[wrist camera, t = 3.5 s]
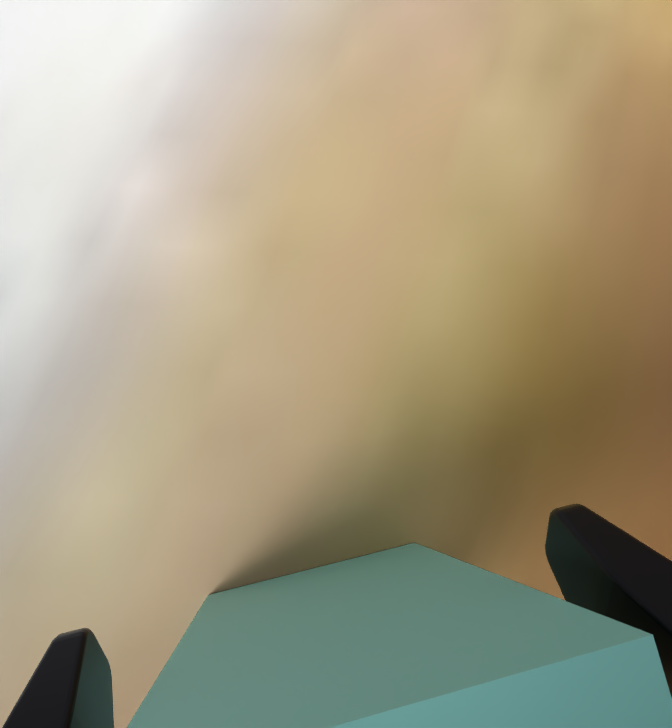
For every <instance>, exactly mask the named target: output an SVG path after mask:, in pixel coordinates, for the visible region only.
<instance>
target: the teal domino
mask: <svg viewBox="0 0 672 728" xmlns="http://www.w3.org/2000/svg"><path fill="white" fill-rule="evenodd" d="M127 728H672V697H671V694H670V691H669V687H668V684H667V681H666V677H665V674H664V670H663V667H662V664H661V660H660V657H659V654H658V650H657V647H656V643H655V640H654V637H653V634H650V633H647V632H645V631H642V630H640V629H637V628H634V627H632V626H629V625H627V624H624V623H621V622H619V621H616V620H614V619H611V618H608V617H606V616H603V615H601V614H598V613H596V612H593V611H590V610H588V609H585V608H583V607H580V606H577V605H575V604H572V603H570V602H567V601H564V600H562V599H559V598H557V597H554V596H551V595H549V594H546V593H544V592H541V591H539V590H536V589H533V588H531V587H528V586H526V585H523V584H520V583H518V582H515V581H513V580H510V579H507V578H505V577H502V576H500V575H497V574H494V573H492V572H489V571H487V570H484V569H481V568H479V567H476V566H474V565H471V564H469V563H466V562H463V561H461V560H458V559H456V558H453V557H450V556H448V555H445V554H443V553H440V552H437V551H435V550H432V549H430V548H427V547H424V546H422V545H419V544H417V543H412V544H408V545H404V546H400V547H396V548H392V549H388V550H384V551H380V552H376V553H372V554H368V555H364V556H360V557H356V558H352V559H349V560H345V561H341V562H337V563H333V564H329V565H325V566H321V567H317V568H313V569H309V570H305V571H301V572H297V573H293V574H289V575H285V576H281V577H277V578H273V579H269V580H265V581H261V582H258V583H254V584H250V585H246V586H242V587H238V588H234V589H230V590H226V591H222V592H218V593H214V594H210V595H208V596H207V598H206V600H205V601H204V603H203V605H202V606H201V608H200V609H199V611H198V613H197V614H196V616H195V618H194V619H193V621H192V622H191V624H190V626H189V627H188V629H187V631H186V632H185V634H184V635H183V637H182V639H181V640H180V642H179V644H178V645H177V647H176V648H175V650H174V652H173V653H172V655H171V657H170V658H169V660H168V661H167V663H166V665H165V666H164V668H163V670H162V671H161V673H160V674H159V676H158V678H157V679H156V681H155V683H154V684H153V686H152V687H151V689H150V691H149V692H148V694H147V696H146V697H145V699H144V700H143V702H142V704H141V705H140V707H139V709H138V710H137V712H136V713H135V715H134V717H133V718H132V720H131V722H130V723H129V725H128V726H127Z"/></svg>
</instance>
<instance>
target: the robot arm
mask: <svg viewBox="0 0 672 728" xmlns="http://www.w3.org/2000/svg"><path fill="white" fill-rule="evenodd" d="M545 550H546V556H547V559H548V562H549V564H550V567H551V569H552V571H553V573H554V576H555V578H556V580H557V582H558V585H559V587H560V589H561V591H562V594H563V596H564V598H565V600H566V601H567V602H570V603H572V604H575V605H577V606H580V607H583V608H585V609H588V610H590V611H593V612H596V613H598V614H601V615H603V616H606V617H608V618H611V619H614V620H616V621H619V622H621V623H624V624H627V625H629V626H632V627H634V628H637V629H640V630H642V631H645V632H647V633H650V634H653V637H654V640H655V643H656V647H657V650H658V654H659V657H660V660H661V664H662V667H663V670H664V674H665V677H666V681H667V684H668V687H669V691H670V694H671V697H672V561H670V560H669V559H667V558H666V557H664V556H663V555H661V554H659V553H658V552H656V551H655V550H653V549H652V548H650V547H648V546H647V545H645V544H644V543H642V542H640V541H639V540H637V539H636V538H634V537H633V536H631V535H629V534H628V533H626V532H625V531H623V530H621V529H620V528H618V527H617V526H615V525H614V524H612V523H610V522H609V521H607V520H606V519H604V518H603V517H601V516H599V515H598V514H596V513H595V512H593V511H591V510H590V509H588V508H587V507H585V506H583V505H580V504H572V505H568V506H564V507H560V508H556V509H554V510H553V511H552V512H551V513H550V517H549V523H548V530H547V537H546V544H545ZM2 728H114V719H113V696H112V676H111V669H110V665H109V662H108V660H107V658H106V656H105V654H104V652H103V650H102V649H101V647H100V645H99V643H98V641H97V639H96V637H95V636H94V634H93V632H92V631H91V630H90V629H88V628H82V629H78V630H74V631H70V632H66V633H62V634H60V635H58V636H57V637H56V638H54V640H53V641H52V642H51V644H50V646H49V647H48V649H47V651H46V653H45V654H44V656H43V658H42V660H41V661H40V663H39V665H38V667H37V668H36V670H35V672H34V673H33V675H32V677H31V679H30V680H29V682H28V684H27V686H26V687H25V689H24V691H23V693H22V694H21V696H20V698H19V699H18V701H17V703H16V705H15V706H14V708H13V710H12V712H11V713H10V715H9V717H8V719H7V720H6V722H5V724H4V726H3V727H2Z"/></svg>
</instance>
